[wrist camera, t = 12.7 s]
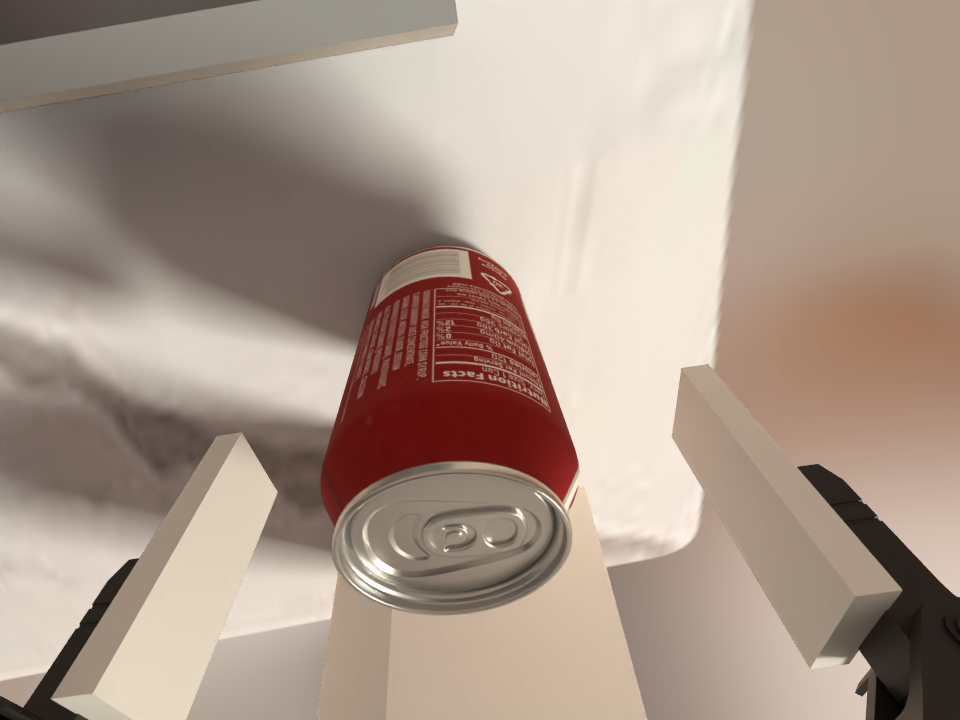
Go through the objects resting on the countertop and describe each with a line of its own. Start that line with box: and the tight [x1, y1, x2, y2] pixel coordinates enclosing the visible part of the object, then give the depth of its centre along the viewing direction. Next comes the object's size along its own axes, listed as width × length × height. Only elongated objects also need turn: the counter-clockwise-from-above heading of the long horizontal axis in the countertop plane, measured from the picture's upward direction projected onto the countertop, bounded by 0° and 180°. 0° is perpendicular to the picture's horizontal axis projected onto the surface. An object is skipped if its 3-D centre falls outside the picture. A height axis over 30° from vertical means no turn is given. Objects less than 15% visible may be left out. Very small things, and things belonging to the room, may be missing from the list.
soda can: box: [321, 246, 579, 616], centre depth 15 cm, size 7×7×12 cm
